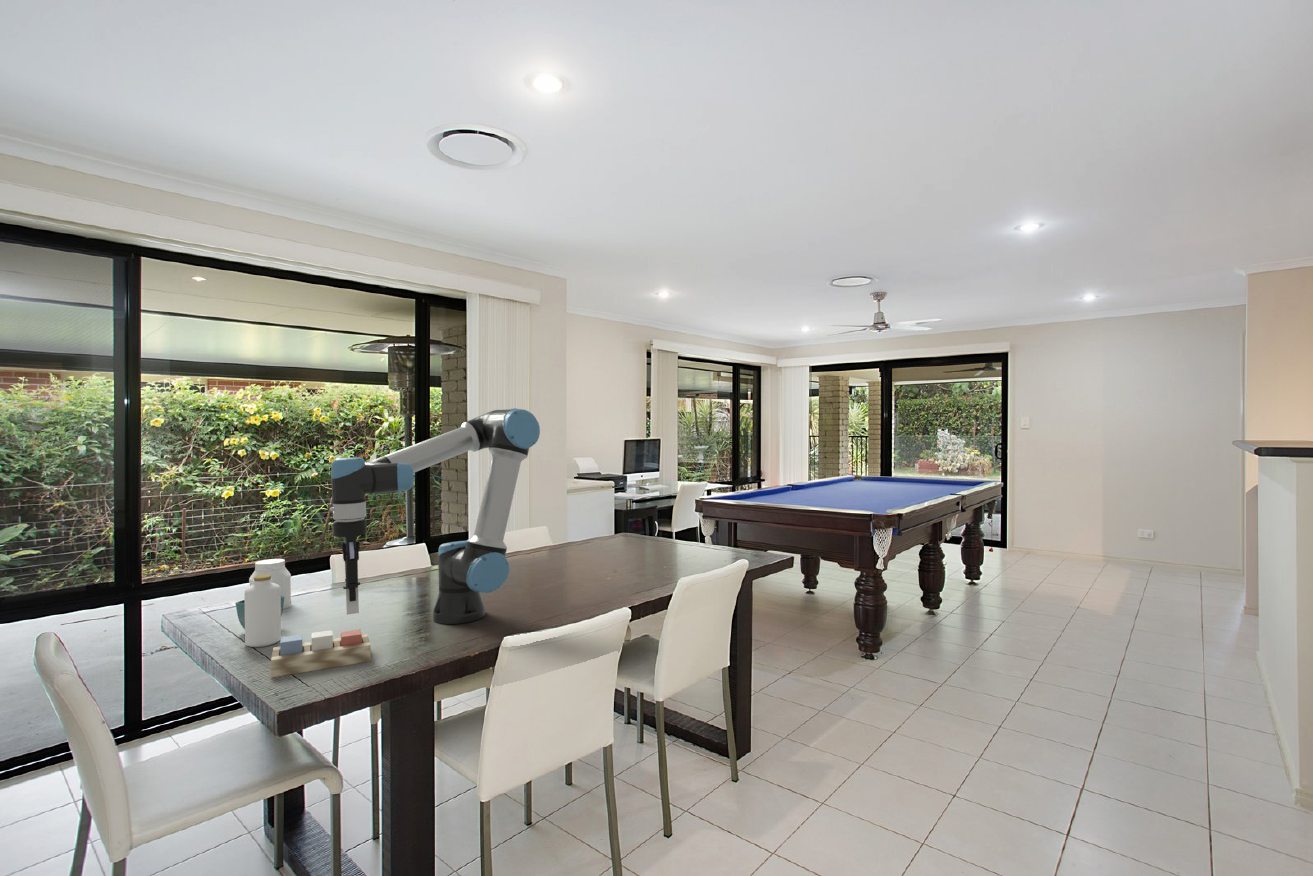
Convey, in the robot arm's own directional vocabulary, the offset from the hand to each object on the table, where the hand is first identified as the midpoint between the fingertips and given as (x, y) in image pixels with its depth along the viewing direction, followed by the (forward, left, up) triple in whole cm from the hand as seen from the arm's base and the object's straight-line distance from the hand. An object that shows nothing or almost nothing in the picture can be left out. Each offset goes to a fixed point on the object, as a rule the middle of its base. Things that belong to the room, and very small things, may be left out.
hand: (352, 613), depth 159 cm
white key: (+6, +3, -9) cm, 12 cm away
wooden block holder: (+6, +3, -11) cm, 13 cm away
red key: (0, 0, -10) cm, 10 cm away
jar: (+50, -45, -11) cm, 68 cm away
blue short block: (+11, +7, -9) cm, 16 cm away
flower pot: (+38, -22, -11) cm, 45 cm away
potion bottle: (+30, -11, -11) cm, 34 cm away
